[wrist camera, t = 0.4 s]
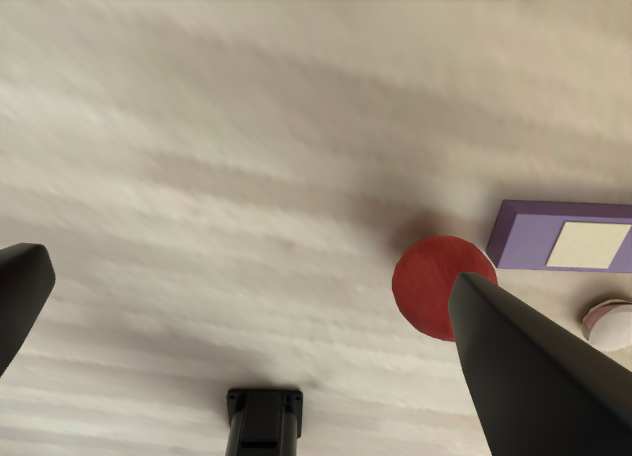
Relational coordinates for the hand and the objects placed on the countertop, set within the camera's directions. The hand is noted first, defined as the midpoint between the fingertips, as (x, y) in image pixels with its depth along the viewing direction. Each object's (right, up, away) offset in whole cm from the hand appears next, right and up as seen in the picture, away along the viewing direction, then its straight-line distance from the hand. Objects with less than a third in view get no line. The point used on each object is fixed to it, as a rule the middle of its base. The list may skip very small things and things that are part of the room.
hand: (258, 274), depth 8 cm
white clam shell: (+23, -5, +20) cm, 31 cm away
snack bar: (+18, +1, +16) cm, 24 cm away
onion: (+9, 0, +17) cm, 19 cm away
